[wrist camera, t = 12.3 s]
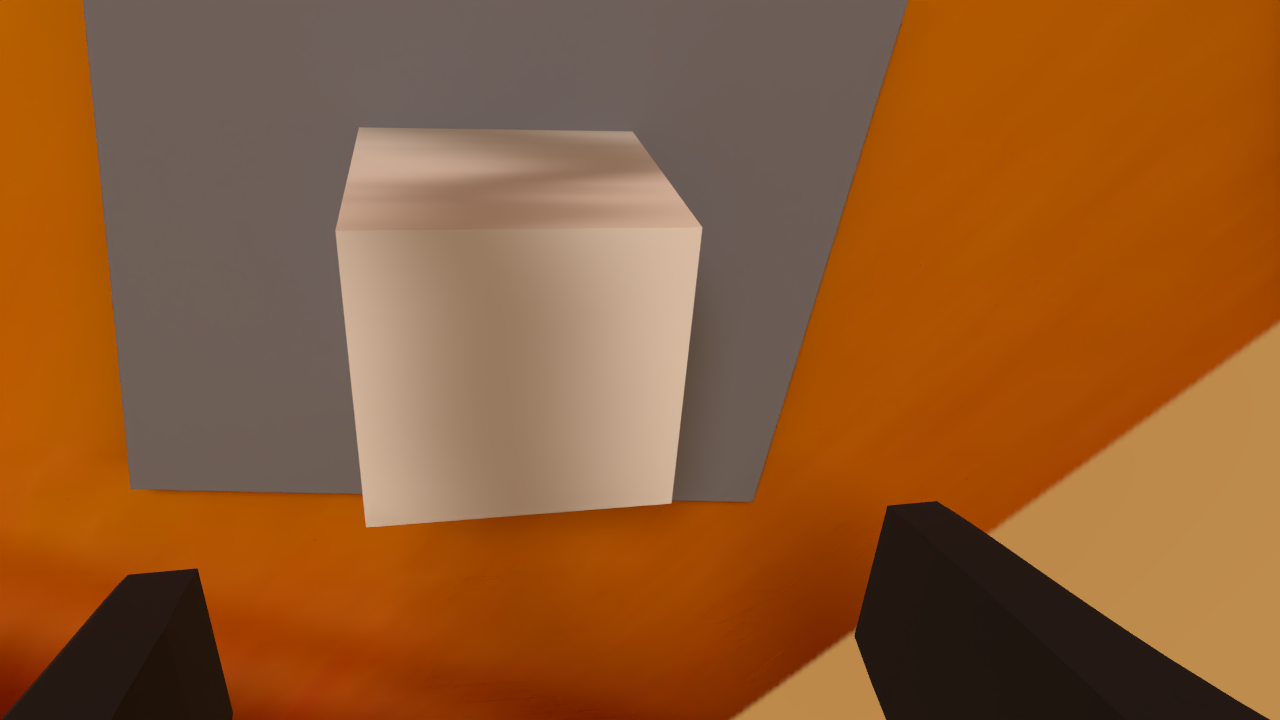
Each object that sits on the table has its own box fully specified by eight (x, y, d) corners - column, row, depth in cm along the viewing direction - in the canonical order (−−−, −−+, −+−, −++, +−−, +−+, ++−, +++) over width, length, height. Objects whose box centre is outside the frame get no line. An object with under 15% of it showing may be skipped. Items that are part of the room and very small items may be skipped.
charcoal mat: (894, -7, 17) (908, -3, 17) (745, 487, 23) (752, 501, 22) (79, -170, 13) (65, -170, 13) (138, 472, 19) (130, 489, 18)
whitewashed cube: (632, 131, 17) (702, 227, 13) (617, 359, 19) (671, 503, 15) (359, 127, 16) (335, 230, 12) (379, 369, 18) (366, 527, 14)
